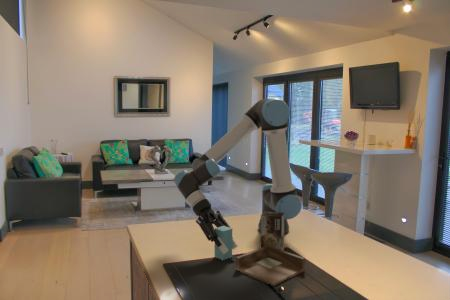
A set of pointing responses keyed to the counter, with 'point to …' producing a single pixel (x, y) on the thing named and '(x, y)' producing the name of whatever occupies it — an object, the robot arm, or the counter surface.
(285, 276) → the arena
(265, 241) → the coffee box
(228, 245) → the teal block
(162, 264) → the counter surface
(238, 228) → the counter surface
